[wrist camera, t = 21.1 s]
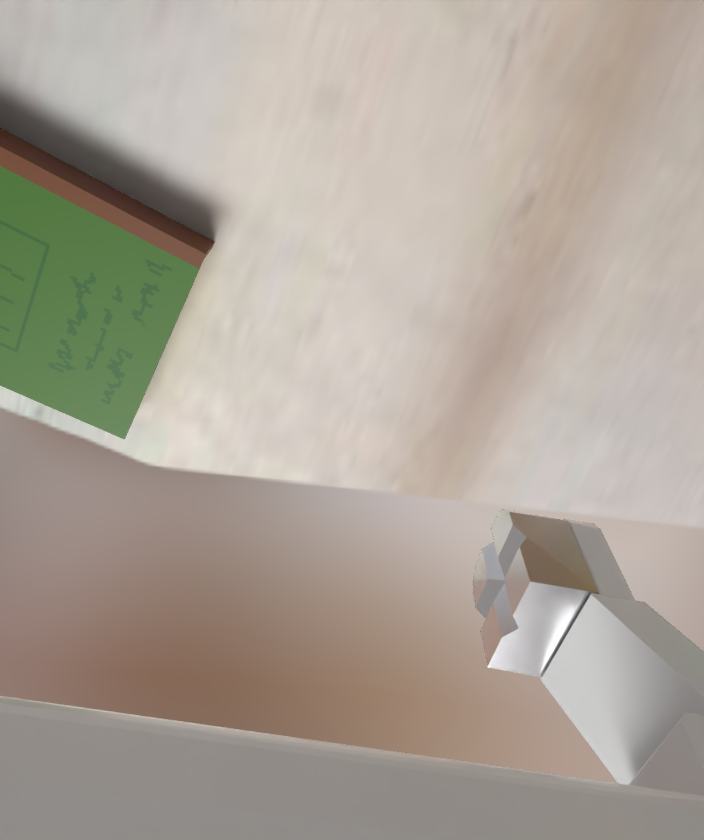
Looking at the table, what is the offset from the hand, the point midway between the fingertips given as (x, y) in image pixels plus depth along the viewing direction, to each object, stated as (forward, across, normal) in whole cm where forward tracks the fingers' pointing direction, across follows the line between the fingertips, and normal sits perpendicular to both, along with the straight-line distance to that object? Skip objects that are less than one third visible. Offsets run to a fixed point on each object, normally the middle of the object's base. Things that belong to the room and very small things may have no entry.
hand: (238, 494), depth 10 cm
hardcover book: (+42, -23, -15) cm, 50 cm away
